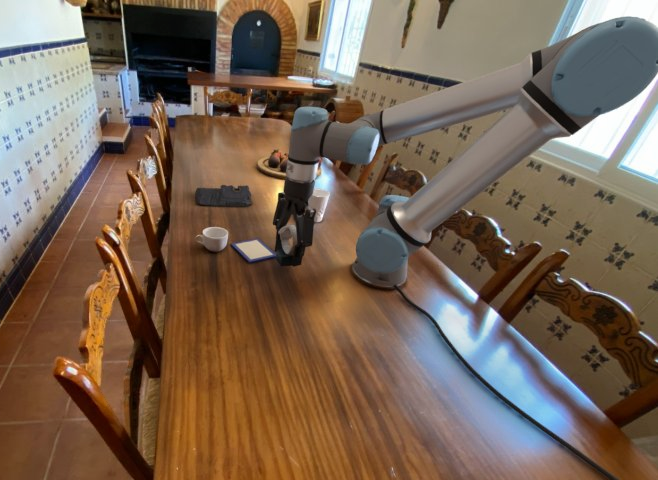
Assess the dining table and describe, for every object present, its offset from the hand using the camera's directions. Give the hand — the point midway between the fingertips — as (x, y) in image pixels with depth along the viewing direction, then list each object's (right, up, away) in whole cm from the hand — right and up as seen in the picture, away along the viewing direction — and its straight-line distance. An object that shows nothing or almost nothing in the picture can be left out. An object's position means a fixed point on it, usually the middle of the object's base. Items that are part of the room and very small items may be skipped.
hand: (287, 257), depth 103 cm
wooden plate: (+12, +55, +75) cm, 93 cm away
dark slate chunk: (-20, +29, +40) cm, 54 cm away
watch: (0, -1, +1) cm, 1 cm away
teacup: (-22, +4, +9) cm, 25 cm away
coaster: (-9, +3, +9) cm, 13 cm away
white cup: (+14, +19, +31) cm, 39 cm away
